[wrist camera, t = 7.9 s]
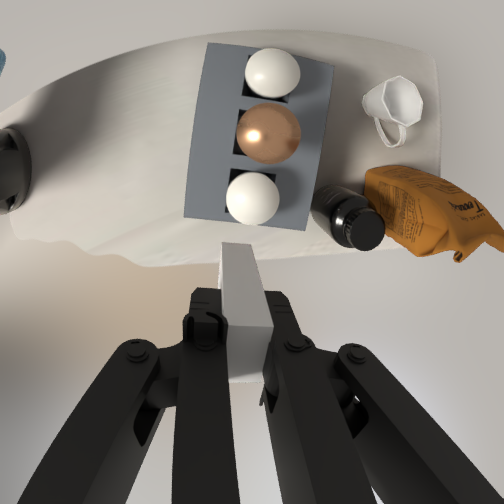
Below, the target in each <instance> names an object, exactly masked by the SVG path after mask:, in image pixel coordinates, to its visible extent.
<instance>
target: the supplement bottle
mask: <svg viewBox="0 0 504 504" xmlns="http://www.w3.org/2000/svg"><path fill="white" fill-rule="evenodd" d="M311 214H312V217H313V219H314V221H315V222H316V223H317V224H318V225H319V226H320V227H321V228H322V229H323V230H324V231H325V232H326V233H327V234H328V235H329V236H330V237H331V238H332V239H333V240H334V241H336V242H337V243H338V244H339V245H341V246H343V247H347V248H356V249H358V250H360V251H369V250H372V249H374V248H375V247H377V246H378V245H379V244H380V243H381V241H382V240H383V237H384V234H385V230H386V227H385V226H386V225H385V221H384V219H383V217H382V216H381V215H380V214H379V213H378V212H377V209H376V207H375V205H374V204H373V203H372V201H371V200H369V199H368V198H367V197H365V196H363V195H361V194H358V193H356V192H354V191H351V190H349V189H347V188H344V187H342V186H339V185H327V186H325V187H323V188H321V189H320V190H318V191H317V193H316V194H315V195H314V197H313V199H312V202H311Z"/></svg>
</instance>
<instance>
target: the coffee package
mask: <svg viewBox="0 0 504 504" xmlns="http://www.w3.org/2000/svg"><path fill="white" fill-rule="evenodd" d="M364 196H365V197H367V198H368V199H369V200H371V201H372V203H373V204H374V205H375V207H376V209H377V212H378V213H379V214H380V215H381V216H382V217H383V219H384V221H385V225H386V226H385V227H386V230H385V234H386V235H387V236H388V237H392V238H393V239H394V240H395V241H396V242H397V243H399V244H401V245H402V246H404V247H405V248H407V249H408V250H409V251H410V252H411V253H413V254H414V255H415V256H417V257H424V256H429V255H434V254H437V253H440V252H443V251H448V250H454V251H456V252H455V254H454V257H453V259H454V261H455V262H458V263H460V262H462V260H464V259H465V258H467V257H468V256H469V255H470V254H471V253H472V252H473V251H474V250H475V249H477V248H478V247H479V246H480V245H481V244H482V243H483V242H486V243H487V244H489V245H490V246H492V247H495V248H496V249H497V250H499V251H501V252H504V230H503V229H502V227H501V226H500V225H499V223H498V222H497V221H496V220H495V219H494V218H493V217H492V215H491V214H490V213H489V211H488V210H487V209H486V208H485V207H484V206H483V205H482V204H481V203H480V202H479V201H478V200H477V199H476V198H474V197H472V196H471V195H470V194H468V193H466V192H464V191H463V190H462V189H460V188H459V187H457V186H455V185H454V184H452V183H450V182H448V181H447V180H445V179H442V178H439V177H437V176H434V175H432V174H429V173H426V172H423V171H420V170H417V169H413V168H408V167H404V166H385V167H379V168H373V169H370V170H368V171H367V172H366V175H365V188H364Z"/></svg>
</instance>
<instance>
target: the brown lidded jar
mask: <svg viewBox="0 0 504 504" xmlns="http://www.w3.org/2000/svg"><path fill="white" fill-rule="evenodd" d="M236 136H237V141H238V144H239V146H240V148H241V150H242V151H243V152H244V153H245V154H246V155H247V156H248V157H249V158H251V159H252V160H254V161H256V162H259V163H263V164H276V163H280V162H282V161H285V160H286V159H288V158H289V157H290V156H292V154H293V153H294V152H295V151H296V149H297V147H298V145H299V143H300V138H301V130H300V125H299V123H298V120H297V119H296V117H295V116H294V114H293V113H292V112H291V111H290V110H288V109H287V108H286V107H284V106H282V105H279V104H276V103H261V104H257V105H255V106H253V107H251V108H250V109H248V110H247V111H246V112H245V113H244V114H243V116H242V117H241V119H240V121H239V123H238V125H237V131H236Z"/></svg>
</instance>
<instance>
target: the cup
mask: <svg viewBox="0 0 504 504" xmlns="http://www.w3.org/2000/svg"><path fill="white" fill-rule="evenodd" d="M361 105H362V107H363V109H364V110H365V112H366V114H367V115H369V116H371V117H373V118H374V123H375V125H376V128H377V131H378V133H379V135H380V137H381V139H382V141H383V142H384V144H385V145H386V146H388V147H389V148H392V147H400V146H402V145H403V144H404V142H405V140H406V128H405V127H409V126H411V125H413V124H414V123H416V122H418V121H420V120H421V114H422V109H423V100H422V98H421V96H420V94H419V91H418V89H417V87H416V85H415V84H414V83H412V82H410V81H409V80H407V79H405V78H404V77H402V76H400V75H398V76H396V77H394V78H391V79H389V80H386V81H384V82H383V83H381V84H379V85H378V86H376V87H374V88H372V89H371V90H370V91H369V92H368V93H366V94H364V95H363V100H362V104H361ZM379 119H381V120H383V121H386V122H389V123H393V124H397V125H398V127H399V132H400V140H399V141H398V143H397V144H395V145H392V144H390V143H389V141H388V139H387V138H386V136H385V134H384V132H383V130H382V128H381V125H380V122H379Z"/></svg>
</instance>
